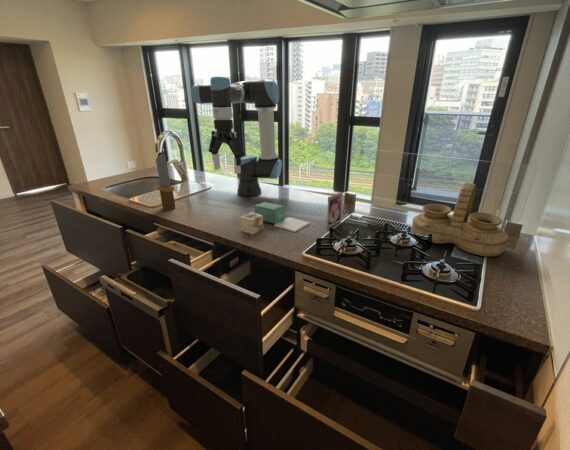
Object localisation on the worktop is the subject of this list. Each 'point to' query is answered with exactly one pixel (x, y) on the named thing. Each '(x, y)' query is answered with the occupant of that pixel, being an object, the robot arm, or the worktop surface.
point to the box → (270, 212)
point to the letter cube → (252, 223)
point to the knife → (165, 183)
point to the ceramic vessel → (462, 226)
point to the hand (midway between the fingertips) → (227, 171)
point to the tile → (292, 224)
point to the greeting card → (334, 209)
